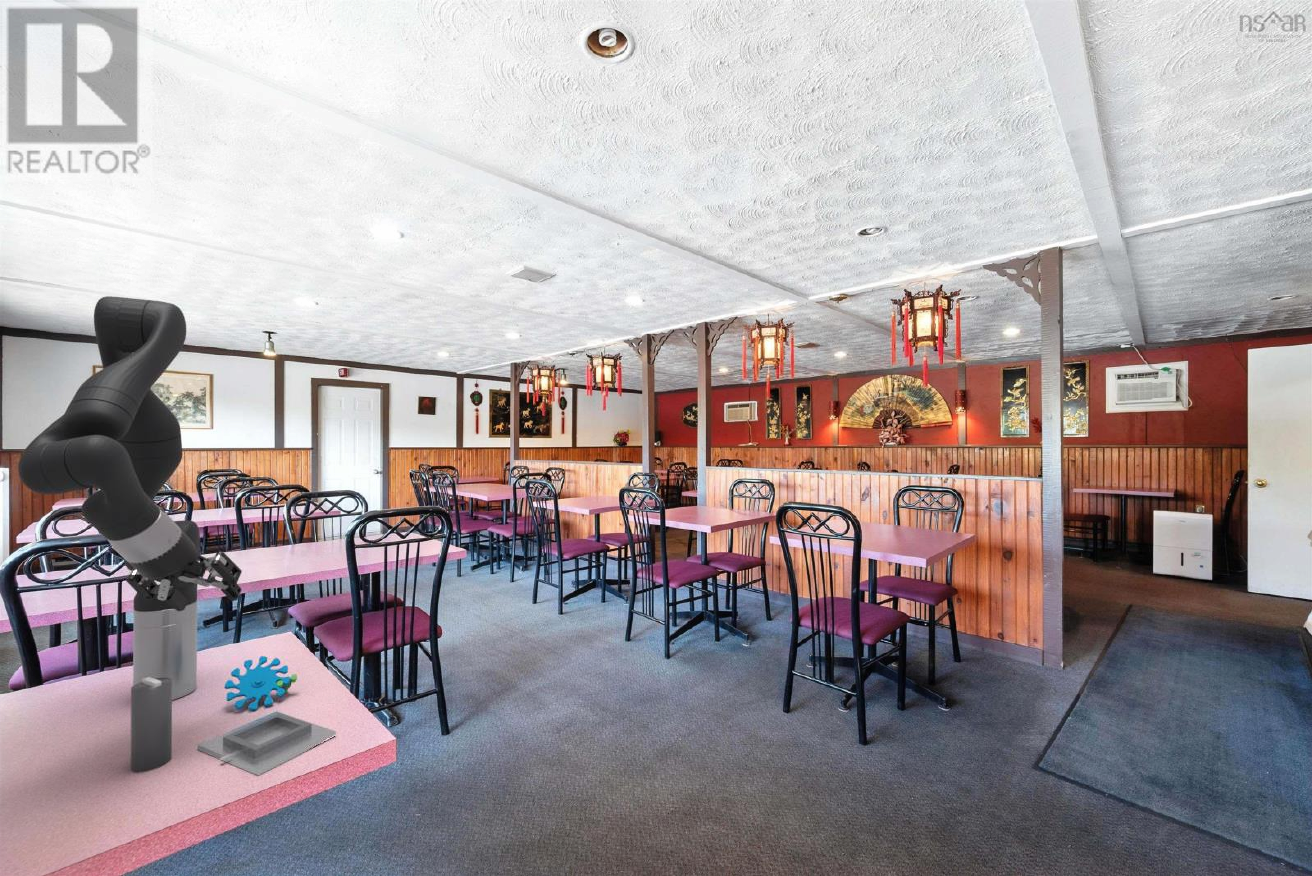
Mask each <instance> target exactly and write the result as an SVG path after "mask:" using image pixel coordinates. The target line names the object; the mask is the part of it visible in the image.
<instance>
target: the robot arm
mask: <svg viewBox="0 0 1312 876" xmlns="http://www.w3.org/2000/svg"><path fill="white" fill-rule="evenodd" d="M93 324H94V325H93V326H94V327H93V328H94V333H95V337H96V343H97V347H98V352H99V356H100V362H101V366H102V369H100V370H98V371H97V372H95V373H93V374H92V375H91V376H89V377H88V378H87V379H86V380H85V381H84V382H83V383H81V385H80V386H79V388H78V389H77V391H76V392H75V394H74V396H73V398H72V399H71V400H70V402H69V404H68V407H67V408H66V410H65V411H64V414H62V415H61V416H60V417H59V418H57V419H56V420H55V421H53V422H52V423H51V424H50V425H49V426H48V427H46V428H45V429H44V430H43V431H42V432H41V433H39V434H38V435H37V436H36V437H35V438H34V439H33V440H32V441H30V443H29V444H28V445H27V446H26V448H25V449H24V450H23V452H22V453H21V455H20V458H19V461H18V466H17V467H18V468H17V471H18V476H19V478H20V480H21V482H22V483H23V485H24V486H25V487H26V488H27V489H29V490H30V491H32V492H34V493H37V494H42V495H49V496H50V495H61V494H67V493H72V492H75V491H82V490H86V489H92V488H97V489H99V490H97V491H95V492H94V493H92V494H90V495H89V496H87V498H86V499H85V500H84V501H83V503H82V505H81V508H80V509H81V513H82V516H83V517H84V519H85V520H86V521H87V522H88V524H90V525H91V526H93V528H94V529H95V530H96V531H98V532H99V533H100V535H102V536H103V537H104V538H105V539H106V540H107V541H108V543H109V544H110V546H111V547H112V548H113V550H114V551H115V552H117V554H119V556H121V557H122V559H123V563H124V566H125V567H126V568H127V569H128V570H129V571H130V572H129V574H128V576H127V577H126V579H125V581H126V583H127V584H129V586H131V588H132V589H133V590H134V591H135V592H136V594H135V595H134V597H133V637H132V638H133V640H132V641H133V642H132V643H133V645H132V646H133V647H132V648H133V651H132V653H133V659H132V664H133V665H132V667H133V669H132V672H133V673H132V676H133V677H132V687H133V686H134V685H136V684H138V683H140V682H143V679H144V678H147V677H151V678H154V679H155V678H171V679H172V701H174V700H176V699H180V698H182V697H186V696H187V695H189V694H191V693H193V692H194V691H195V690H196V689H197V687H198V685H197V681H198V679H197V678H198V676H197V675H198V672H197V671H198V585H199V586H201V587H206V588H207V587H211V586H212V587H215V588H218V589H220V591H221V592H222V593H223V595H225V596H226V598H228V599H229V600H230V601H231V602H234V601H235V602H236V601H238V599H239V597H240V595H241V593H242V591H243V590H242V588H241V586H240V585H239V584H238V581H239V579H240V578H241V575H242V573H243V571H242V569H240V567H239V566H238V565H237V564H236V563H235V562H234V561H233V560H232V559H231V558H230V557H229V556H228V555H227V554H226V553H225V552H223V551H217V552H216V553H215V555H214V556H211V557H205V556H203V555H201V554H200V541H201V538H200V537H201V535H200V533H201V532H200V529H199V526H198V524H197V523H196V522H195V521H193V520H173V519H172V518H171V516H170V515H168V514H167V513H165V512H164V511H163V510H161V508H160V507H159V506H158V505H157V504H156V503H155V501H154V500H155V498H156V496H157V495H158V493H159V492H160V491H161V489H162V488H163V486H164V485H165V484H167V482H168V481H169V480H170V478H171V477H172V476H173V474H174V473H175V471H176V470H177V469H178V468H179V466H180V464H181V461H182V460H183V443H182V431H181V425H180V421H179V420H178V418H177V417H176V415H175V414H174V413H173V412H172V411H171V409H170V408H169V407H168V406H167V405H166V404H165V403H164V402H163V400H162V399H160V397H158V396H157V394H155V392H154V391H153V390H152V389H151V388H152V387H153V386H154V384H155V383H156V382H157V381H158V379H159V378H161V376H162V375H163V374H164V373H165V371H166V370H167V369H168V368H169V366H170V365H171V364H172V362H173V361H174V360H175V359H176V358H177V356H178V355H179V353H180V352H181V350H182V348H183V346H184V345H185V341H186V338H187V322H186V318H185V315H184V313H183V311H182V309H181V308H180V307H179V306H177V305H176V304H174V303H171V302H165V301H159V300H152V299H151V300H150V299H142V298H140V299H139V298H132V297H122V296H109V295H108V296H102V297H101V298H99V299H98V301H97V302H96V304H95V306H94V311H93ZM206 572H209V574H208V576H207V578H205V577H204V576H205V574H206ZM203 577H204V578H203ZM216 577H217V578H219V579H221V580H218V579H216ZM157 582H158V583H157Z"/></svg>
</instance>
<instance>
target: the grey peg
mask: <svg viewBox="0 0 1312 876" xmlns="http://www.w3.org/2000/svg"><path fill="white" fill-rule="evenodd" d="M172 720H173V700H172V679H171V678H155V679H154V678H151V677H147V678H144V679H143V682H140V683H138V684H136V685H134V686H133V685H132V686H131V688H130V771H131V772H132V773H144V772H149V771H153V770H155V769H158V768H161V767H163V766H165V765H166V764H168V763H169V762H170V761H171V759H172V755H173V754H172V753H173V752H172V751H173V750H172V748H173V747H172V746H173V744H172V742H173V741H172V740H173V739H172V737H173V735H172V733H173V731H172V730H173V729H172V728H173V727H172V726H173V721H172Z"/></svg>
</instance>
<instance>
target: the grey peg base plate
mask: <svg viewBox="0 0 1312 876" xmlns="http://www.w3.org/2000/svg"><path fill="white" fill-rule="evenodd" d="M335 734H336V735H337V731H335V730H333V729H330V728H327V727H324V726H321V725H319V724H315V723H312V722H310V721H307V720H303V719H301V718H298V717H295V716H292V715H289V714H285V713H282V712H279V711H273V712H272V713H269V714H266V715H264V716H262V717H260V718H257V719H255V720H252V721H251V722H248V723H246V724H243V725H241V726H238V727H235V728H234V729H231V730H229V731H226V732H224V733H222V734H220V735H217V736H214V737H213V738H209V739H208V740H206V741H205V740H204V741H203V742H200V743H198V744H197V748H196V750H197V751H200V752H202V753H204V754H206V755H209V756H212V757H214V758H216V759H217V760H221V761H223V762H224V763H228V764H230V765H233V766H235V767H237V768H239V769H241V770H243V771H246V772H248V773H250V774H253V775H255V776H261V775H263V774H265V773H267V772H268V771H270V770H272V769H274V768H276V767H278V766H280V765H282V764H284V763H286V762H288V761H290V760H292V759H294V758H296V757H298V756H300V755H302V754H304V753H307V752H308V751H310V750H311V749H310V748H312V749H314V748H315V747H314V746H316V745H317V744H319V743H322V742H323V741H324V740H326V739H327V738H330V737H332V736H333V735H335ZM322 744H323V743H322ZM313 747H314V748H313ZM316 747H317V746H316ZM309 749H310V750H309ZM307 750H308V751H307ZM303 752H304V753H303Z"/></svg>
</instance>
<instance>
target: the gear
mask: <svg viewBox="0 0 1312 876" xmlns="http://www.w3.org/2000/svg"><path fill="white" fill-rule="evenodd" d="M253 662H254V661H253V659H248V660H244V661H243V667H244V668H245V669H246V672H245V673H244V674H243V675H241V674H240V673H241V670H240V668H239V667H236V668H234V669H233V670H231V672H230V675H231V677H233V678H236V679H237V680H238V681H239V682H238V683H234V682H233V680H231V679H228V680H227V681H226V682H225V684H224V689H225V690H230V689H235V690H238V691H239V692H236V693H235V692H233V691H229V692H227V693H226V701H227V702H230V701H231V702H232V701H233V700H235V699H236V698H240V697H245V698H244V699H238V700H236V701H235V702H234V707H235V708H236V709H237V710H241V709H242V708H243V706H244V705H245V704H246V703H247V702H249V701H251V700H254V701H253V702H251V703H250V704H249V705H248V710H249V711H253V712H254V711H257V709H258V705H259V702H260V701H261V699H262V698H265V697H266V698H265V700H264V703H263V704H264V705H263V706H264V707H270V706H272V705H273V704H274V700H273V698H272V697H271V692H272V691H276V697H277V698H280V697H283V695H284V694H286V693H287V692H288V690H289V689H290V688H291V686H292V684H294V683H296V682H297V679H298V675H297V673H296V674H295V673H294V674H292V675H290V676H279V675H277V674H278V673H279V674H282V675H286V674H288V673H289V667H288V666H289V665H286V664H285V665H283V666H281V667H280V668H275V669H274V668H273V667H278V666H280V664H281V660H280V659H279V658H278V657H275V658H273V660H272V661H271V662H270V663H269V664H268V665H266V666H265V665H264V664H266V663H267V662H268V656H265V655H264V656H263V655H261V656H259V660H258V664H257V665H256V666H255V667H254V668H252V666H253ZM262 665H264V666H262ZM272 668H273V669H272Z"/></svg>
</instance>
